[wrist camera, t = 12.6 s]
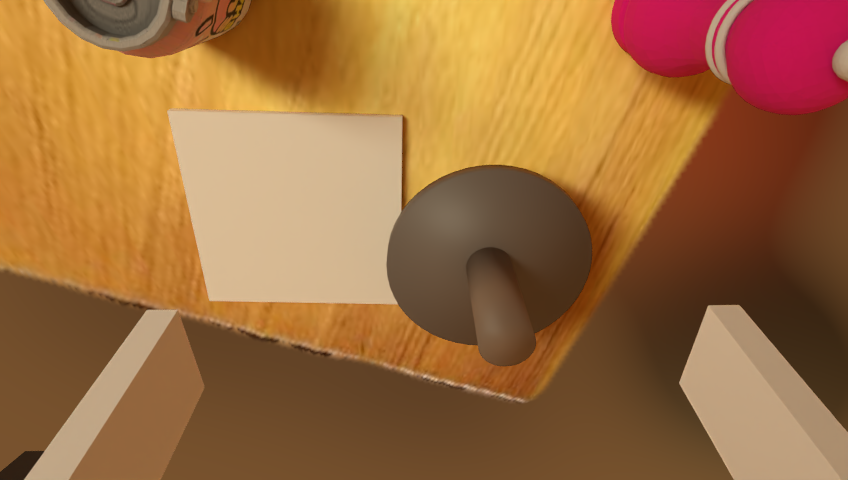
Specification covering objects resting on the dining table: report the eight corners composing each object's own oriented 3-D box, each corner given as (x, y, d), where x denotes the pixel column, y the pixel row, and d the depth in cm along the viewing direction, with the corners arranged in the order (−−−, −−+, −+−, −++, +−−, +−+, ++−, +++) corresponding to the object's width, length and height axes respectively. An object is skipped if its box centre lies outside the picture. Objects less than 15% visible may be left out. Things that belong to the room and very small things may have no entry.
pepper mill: (698, -67, 33) (1004, -92, 16) (712, 39, 37) (979, 112, 19) (592, -18, 35) (770, 6, 17) (615, 79, 38) (784, 182, 21)
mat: (170, 108, 39) (167, 110, 38) (402, 115, 39) (402, 117, 39) (211, 297, 48) (209, 300, 47) (400, 300, 48) (400, 304, 48)
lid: (386, 162, 36) (376, 229, 27) (606, 167, 36) (668, 235, 27) (387, 334, 44) (380, 431, 35) (568, 337, 44) (606, 433, 35)
